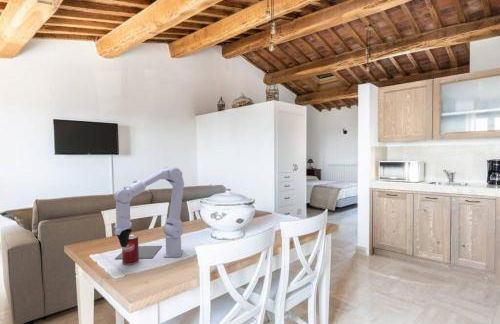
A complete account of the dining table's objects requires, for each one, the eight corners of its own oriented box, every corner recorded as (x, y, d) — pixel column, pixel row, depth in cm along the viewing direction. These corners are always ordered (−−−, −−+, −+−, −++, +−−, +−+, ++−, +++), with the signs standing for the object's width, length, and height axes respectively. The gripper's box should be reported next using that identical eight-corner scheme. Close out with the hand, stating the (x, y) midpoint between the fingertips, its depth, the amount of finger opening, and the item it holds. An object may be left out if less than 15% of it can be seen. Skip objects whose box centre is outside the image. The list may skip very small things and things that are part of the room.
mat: (128, 247, 160) (128, 246, 160) (162, 246, 160) (162, 245, 160) (114, 259, 142) (114, 258, 142) (152, 258, 142) (152, 257, 142)
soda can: (131, 265, 133) (130, 239, 133) (118, 264, 136) (118, 238, 135) (142, 260, 140) (141, 235, 140) (129, 258, 143) (129, 234, 142)
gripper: (120, 212, 137) (121, 241, 137) (106, 220, 122) (107, 252, 123) (135, 212, 137) (136, 241, 138) (123, 219, 123) (124, 251, 123)
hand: (124, 246), depth 130 cm, fingers closed
